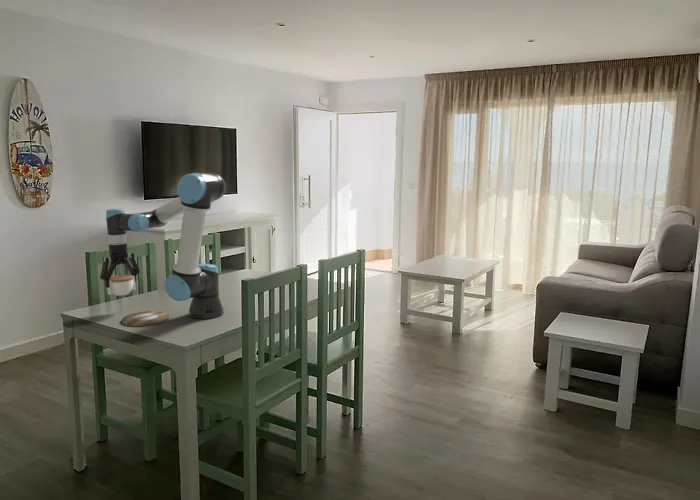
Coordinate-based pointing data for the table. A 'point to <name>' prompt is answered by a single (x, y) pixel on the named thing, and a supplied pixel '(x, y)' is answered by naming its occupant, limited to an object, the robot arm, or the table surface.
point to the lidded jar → (122, 284)
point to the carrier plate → (146, 318)
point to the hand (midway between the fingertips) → (121, 291)
